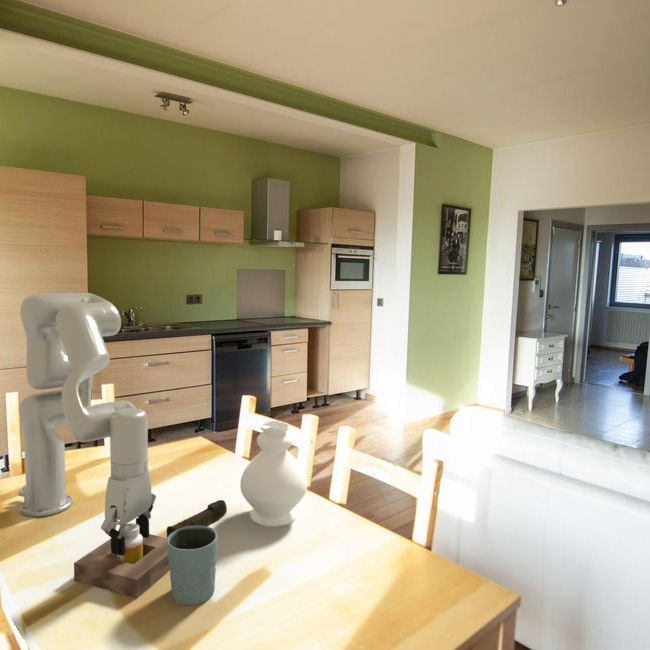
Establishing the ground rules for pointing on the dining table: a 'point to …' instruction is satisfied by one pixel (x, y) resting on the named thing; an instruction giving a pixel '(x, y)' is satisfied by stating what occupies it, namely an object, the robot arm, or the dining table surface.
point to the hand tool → (202, 517)
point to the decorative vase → (274, 478)
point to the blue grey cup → (192, 564)
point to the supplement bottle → (132, 544)
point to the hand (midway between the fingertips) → (130, 544)
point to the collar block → (124, 568)
